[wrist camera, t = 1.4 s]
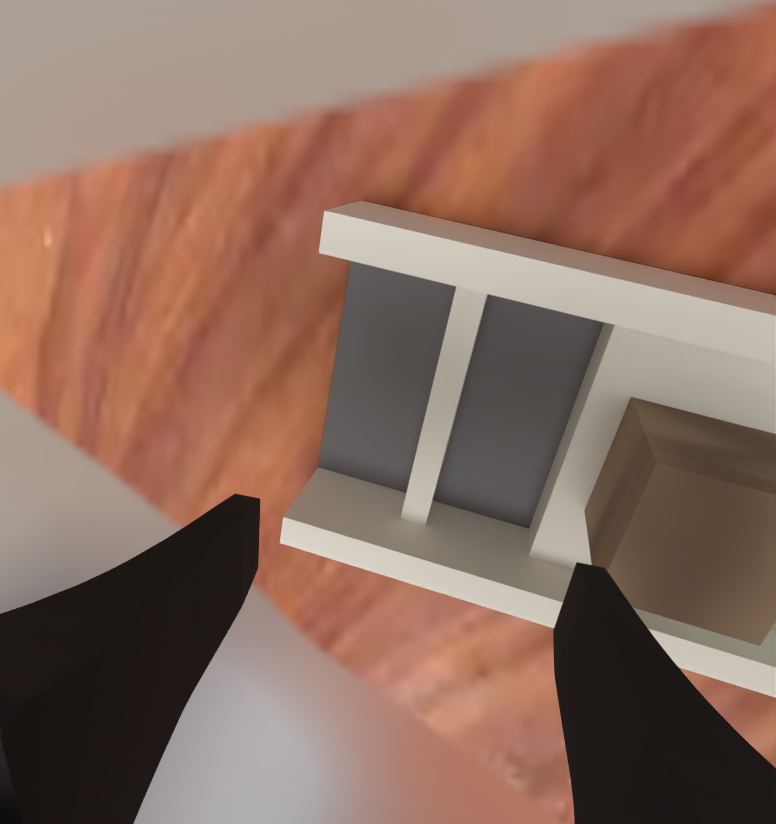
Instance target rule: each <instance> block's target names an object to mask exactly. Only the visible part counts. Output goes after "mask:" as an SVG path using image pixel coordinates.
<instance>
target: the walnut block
mask: <svg viewBox="0 0 776 824" xmlns="http://www.w3.org/2000/svg"><path fill="white" fill-rule="evenodd" d="M584 512H585V519H586V527H587V534H588V542H589V549H590V556H591V564H592V565H593V566H598V567H603V568H605V569H606V570H607V571H608V573H609V574H610V576H611V577H612V578H613V580H614V581H615V583H616V584H617V586H618V587H619V588H620V590H621V591H622V593H623V594H624V596H625V597H626V599H627V600H628V601H629V603H630V604H631V606H632V607H633V608H636V609H639V610H642V611H646V612H649V613H652V614H656V615H659V616H662V617H666V618H669V619H672V620H675V621H679V622H682V623H685V624H689V625H692V626H695V627H699V628H702V629H705V630H709V631H712V632H715V633H718V634H722V635H725V636H728V637H732V638H735V639H738V640H742V641H745V642H748V643H752V644H755V645H758V646H760V645H761V644H762V642H763V641H764V639H765V638H766V636H767V634H768V633H769V631H770V630H771V628H772V627H773V625H774V624H775V622H776V434H774V433H770V432H766V431H762V430H758V429H754V428H750V427H746V426H743V425H739V424H735V423H731V422H727V421H723V420H719V419H715V418H712V417H708V416H704V415H700V414H696V413H692V412H688V411H684V410H680V409H677V408H673V407H669V406H665V405H661V404H657V403H653V402H649V401H646V400H642V399H638V398H634V397H631V398H630V400H629V403H628V405H627V407H626V410H625V412H624V415H623V417H622V420H621V422H620V425H619V427H618V429H617V432H616V434H615V437H614V439H613V442H612V444H611V447H610V449H609V451H608V454H607V456H606V459H605V461H604V464H603V466H602V469H601V471H600V473H599V476H598V478H597V481H596V483H595V486H594V488H593V491H592V493H591V495H590V498H589V500H588V503H587V505H586V508H585V510H584Z"/></svg>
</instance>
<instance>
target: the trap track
mask: <svg viewBox="0 0 776 824" xmlns="http://www.w3.org/2000/svg"><path fill="white" fill-rule="evenodd" d="M319 253H321V254H325V255H329V256H333V257H337V258H342V259H346V260H350V261H351V263H350V269H349V275H348V282H347V288H346V294H345V301H344V307H343V313H342V319H341V326H340V332H339V338H338V345H337V351H336V357H335V364H334V370H333V376H332V382H331V389H330V395H329V401H328V408H327V414H326V420H325V427H324V433H323V439H322V446H321V452H320V458H319V464H318V468H317V469H316V471H315V472H314V474H313V475H312V477H311V478H310V479H309V481H308V482H307V484H306V485H305V487H304V488H303V490H302V491H301V492H300V494H299V495H298V497H297V498H296V500H295V501H294V502H293V504H292V505H291V507H290V508H289V510H288V511H287V513H286V514H285V515H284V517H283V523H282V531H281V538H280V543H282V544H285V545H288V546H291V547H295V548H298V549H301V550H304V551H307V552H311V553H314V554H317V555H320V556H323V557H327V558H330V559H333V560H336V561H339V562H343V563H346V564H349V565H352V566H356V567H359V568H362V569H365V570H368V571H372V572H375V573H378V574H381V575H384V576H388V577H391V578H394V579H397V580H400V581H404V582H407V583H410V584H413V585H416V586H420V587H423V588H426V589H429V590H432V591H436V592H439V593H442V594H445V595H448V596H452V597H455V598H458V599H461V600H464V601H468V602H471V603H474V604H477V605H481V606H484V607H487V608H490V609H493V610H497V611H500V612H503V613H506V614H509V615H513V616H516V617H519V618H522V619H525V620H529V621H532V622H535V623H538V624H541V625H545V626H548V627H551V628H554V627H555V624H556V621H557V618H558V615H559V612H560V609H561V607H562V604H563V601H564V598H565V595H566V592H567V589H568V586H569V583H570V580H571V577H572V574H573V571H574V568H575V565H576V562H579V563H584V564H589V565H592V564H591V556H590V549H589V542H588V534H587V527H586V519H585V512H584V510H585V508H586V505H587V503H588V500H589V498H590V495H591V493H592V491H593V488H594V486H595V483H596V481H597V478H598V476H599V473H600V471H601V469H602V466H603V464H604V461H605V459H606V456H607V454H608V451H609V449H610V447H611V444H612V442H613V439H614V437H615V434H616V432H617V429H618V427H619V425H620V422H621V420H622V417H623V415H624V412H625V410H626V407H627V405H628V403H629V400H630V398H631V397H634V398H638V399H642V400H646V401H649V402H653V403H657V404H661V405H665V406H669V407H673V408H677V409H680V410H684V411H688V412H692V413H696V414H700V415H704V416H708V417H712V418H715V419H719V420H723V421H727V422H731V423H735V424H739V425H743V426H746V427H750V428H754V429H758V430H762V431H766V432H770V433H774V434H776V295H772V294H768V293H763V292H759V291H755V290H750V289H746V288H742V287H737V286H733V285H728V284H724V283H720V282H715V281H711V280H707V279H702V278H698V277H693V276H689V275H685V274H680V273H676V272H672V271H667V270H663V269H659V268H654V267H650V266H645V265H641V264H637V263H632V262H628V261H624V260H619V259H615V258H610V257H606V256H602V255H597V254H593V253H589V252H584V251H580V250H575V249H571V248H567V247H562V246H558V245H554V244H549V243H545V242H541V241H536V240H532V239H527V238H523V237H519V236H514V235H510V234H506V233H501V232H497V231H492V230H488V229H484V228H479V227H475V226H471V225H466V224H462V223H457V222H453V221H449V220H444V219H440V218H436V217H431V216H427V215H423V214H418V213H414V212H409V211H405V210H401V209H396V208H392V207H388V206H383V205H379V204H374V203H370V202H366V201H358V202H355V203H351V204H347V205H343V206H340V207H336V208H332V209H328V210H325V211H324V217H323V225H322V232H321V240H320V247H319ZM633 609H634V610H635V611H636V613H637V614H638V616H639V617H640V618H641V620H642V621H643V622H644V624H645V625H646V627H647V628H648V629H649V631H650V632H651V633H652V635H653V636H654V637H655V639H656V640H657V641H658V643H659V644H660V645H661V646H662V648H663V649H664V650H665V652H666V653H667V654H668V655H669V657H670V658H671V659H672V660H673V662H674V663H675V664H676V665H677V666H678V667H679V668H682V669H686V670H689V671H692V672H695V673H698V674H702V675H705V676H708V677H711V678H714V679H718V680H721V681H724V682H727V683H731V684H734V685H737V686H740V687H743V688H747V689H750V690H753V691H756V692H759V693H763V694H766V695H769V696H772V697H775V698H776V622H775V624H774V625H773V627H772V628H771V630H770V631H769V633H768V634H767V636H766V638H765V639H764V641H763V642H762V644H761V645H760V646H758V645H755V644H752V643H748V642H745V641H742V640H738V639H735V638H732V637H728V636H725V635H722V634H718V633H715V632H712V631H709V630H705V629H702V628H699V627H695V626H692V625H689V624H685V623H682V622H679V621H675V620H672V619H669V618H666V617H662V616H659V615H656V614H652V613H649V612H646V611H642V610H639V609H636V608H633Z"/></svg>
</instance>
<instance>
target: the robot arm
mask: <svg viewBox="0 0 776 824" xmlns="http://www.w3.org/2000/svg"><path fill="white" fill-rule="evenodd" d="M259 524H260V499H259V498H254V497H249V496H244V495H239V494H234V495H232V496H231V497H229V498H228V499H226V500H225V501H223V502H221V503H220V504H218V505H217V506H215V507H214V508H212V509H211V510H209V511H208V512H207V513H205V514H204V515H202V516H201V517H199V518H198V519H196V520H194V521H193V522H191V523H190V524H188V525H187V526H185V527H184V528H182V529H181V530H179V531H177V532H176V533H174V534H173V535H171V536H170V537H168V538H167V539H165V540H163V541H162V542H160V543H158V544H157V545H155V546H153V547H151V548H149V549H148V550H146V551H144V552H142V553H141V554H139V555H137V556H136V557H134V558H132V559H130V560H128V561H127V562H125V563H123V564H121V565H119V566H117V567H115V568H113V569H111V570H109V571H107V572H105V573H103V574H101V575H99V576H96V577H94V578H92V579H90V580H88V581H86V582H83V583H81V584H79V585H77V586H74V587H72V588H69V589H66V590H64V591H62V592H59V593H57V594H54V595H51V596H49V597H46V598H44V599H41V600H39V601H36V602H34V603H31V604H28V605H26V606H23V607H19V608H16V609H14V610H11V611H8V612H5V613H2V614H0V824H133V823H134V821H135V818H136V816H137V814H138V811H139V808H140V806H141V804H142V801H143V799H144V797H145V795H146V792H147V790H148V788H149V785H150V783H151V781H152V778H153V776H154V773H155V772H156V769H157V767H158V765H159V762H160V760H161V758H162V756H163V753H164V751H165V749H166V747H167V745H168V742H169V740H170V738H171V736H172V733H173V731H174V729H175V727H176V725H177V723H178V720H179V718H180V716H181V714H182V712H183V710H184V708H185V706H186V704H187V702H188V700H189V698H190V696H191V694H192V692H193V691H194V689H195V687H196V685H197V684H198V682H199V680H200V679H201V677H202V675H203V673H204V672H205V670H206V668H207V667H208V665H209V663H210V661H211V660H212V658H213V656H214V654H215V653H216V651H217V649H218V648H219V646H220V644H221V642H222V640H223V639H224V637H225V636H226V634H227V632H228V630H229V629H230V627H231V625H232V623H233V621H234V620H235V618H236V616H237V614H238V613H239V611H240V609H241V607H242V605H243V603H244V601H245V598H246V596H247V594H248V591H249V589H250V587H251V584H252V582H253V579H254V577H255V574H256V572H257V569H258V555H259ZM553 636H554V671H555V681H556V688H557V694H558V701H559V707H560V714H561V720H562V727H563V733H564V739H565V745H566V752H567V758H568V764H569V771H570V777H571V785H572V794H573V802H574V818H575V824H776V768H775V767H774V766H773V765H772V764H771V763H769V762H768V761H767V760H766V759H765V758H764V757H763V756H762V755H761V754H760V753H759V752H757V751H756V750H755V749H754V748H753V747H752V746H751V745H750V744H749V743H748V742H747V741H746V740H745V739H744V738H743V737H742V736H741V735H740V734H739V733H738V732H737V731H736V730H735V729H734V728H733V727H732V726H731V725H730V724H729V723H728V722H727V721H726V720H725V719H724V718H723V717H722V716H721V715H720V714H719V713H718V712H717V711H716V710H715V708H714V707H713V706H712V705H711V704H710V703H709V702H708V701H707V700H706V699H705V698H704V697H703V696H702V694H701V693H700V692H699V691H698V690H697V689H696V688H695V687H694V685H693V684H692V683H691V682H690V681H689V680H688V678H687V677H686V676H685V675H684V674H683V672H682V671H681V670H680V669H679V668H678V666H677V665H676V664H675V663H674V662H673V660H672V659H671V658H670V657H669V655H668V654H667V653H666V652H665V650H664V649H663V648H662V646H661V645H660V644H659V643H658V641H657V640H656V639H655V637H654V636H653V635H652V633H651V632H650V631H649V629H648V628H647V627H646V625H645V624H644V622H643V621H642V620H641V618H640V617H639V616H638V614H637V613H636V611H635V610H634V609H633V607H632V606H631V604H630V603H629V601H628V600H627V599H626V597H625V596H624V594H623V593H622V591H621V590H620V588H619V587H618V586H617V584H616V583H615V581H614V580H613V578H612V577H611V576H610V574H609V573H608V571H607V570H606V569H605V568H603V567H598V566H593V565H589V564H584V563H579V562H576V565H575V568H574V571H573V574H572V577H571V580H570V583H569V586H568V589H567V592H566V595H565V598H564V601H563V604H562V607H561V609H560V612H559V615H558V618H557V621H556V624H555V627H554V630H553Z"/></svg>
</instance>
